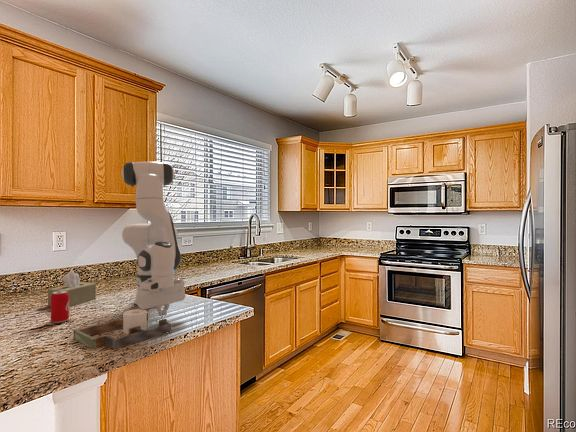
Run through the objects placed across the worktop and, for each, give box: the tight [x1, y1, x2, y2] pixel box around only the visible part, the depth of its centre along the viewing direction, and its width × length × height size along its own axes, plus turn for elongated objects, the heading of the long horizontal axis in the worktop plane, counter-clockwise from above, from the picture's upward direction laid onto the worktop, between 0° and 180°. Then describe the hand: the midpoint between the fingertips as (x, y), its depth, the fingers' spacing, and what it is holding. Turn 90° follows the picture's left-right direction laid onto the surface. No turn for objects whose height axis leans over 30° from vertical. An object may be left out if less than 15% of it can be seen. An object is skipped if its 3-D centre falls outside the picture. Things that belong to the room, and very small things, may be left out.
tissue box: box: [47, 270, 97, 308], centre depth 172 cm, size 19×10×16 cm, turn 163°
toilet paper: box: [122, 308, 148, 335], centre depth 135 cm, size 8×11×7 cm
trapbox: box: [73, 312, 173, 350], centre depth 129 cm, size 28×20×3 cm
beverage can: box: [50, 291, 70, 324], centre depth 143 cm, size 6×6×12 cm
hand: (162, 315), depth 144 cm, fingers closed
